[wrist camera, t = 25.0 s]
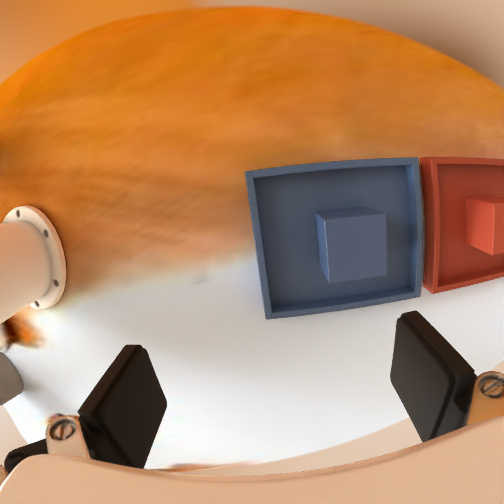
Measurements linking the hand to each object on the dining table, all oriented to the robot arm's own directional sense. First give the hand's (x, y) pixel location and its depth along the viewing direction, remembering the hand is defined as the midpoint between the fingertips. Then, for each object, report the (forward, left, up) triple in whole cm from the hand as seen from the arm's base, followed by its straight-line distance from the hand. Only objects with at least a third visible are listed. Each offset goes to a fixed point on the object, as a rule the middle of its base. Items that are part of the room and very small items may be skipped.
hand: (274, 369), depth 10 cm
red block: (+17, +13, -15) cm, 26 cm away
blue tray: (+4, +4, -16) cm, 17 cm away
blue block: (+4, +4, -15) cm, 16 cm away
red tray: (+17, +13, -16) cm, 26 cm away
